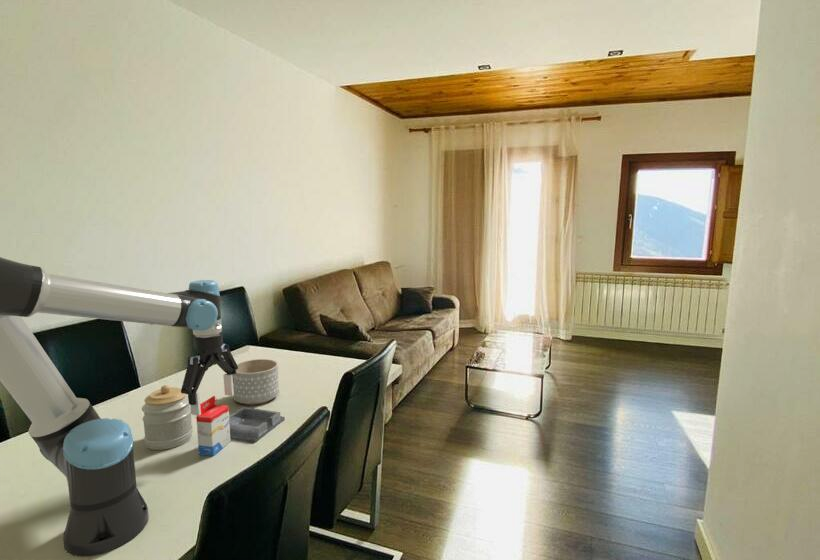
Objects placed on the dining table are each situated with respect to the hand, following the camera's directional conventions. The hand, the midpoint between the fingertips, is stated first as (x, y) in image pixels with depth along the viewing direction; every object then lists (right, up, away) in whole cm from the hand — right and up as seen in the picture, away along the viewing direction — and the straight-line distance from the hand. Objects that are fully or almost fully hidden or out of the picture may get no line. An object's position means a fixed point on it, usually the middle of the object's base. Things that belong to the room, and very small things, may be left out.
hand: (213, 404), depth 126 cm
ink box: (0, -14, +2) cm, 14 cm away
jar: (-17, -13, +6) cm, 22 cm away
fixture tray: (+6, -12, +14) cm, 19 cm away
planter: (-1, -9, +38) cm, 39 cm away
